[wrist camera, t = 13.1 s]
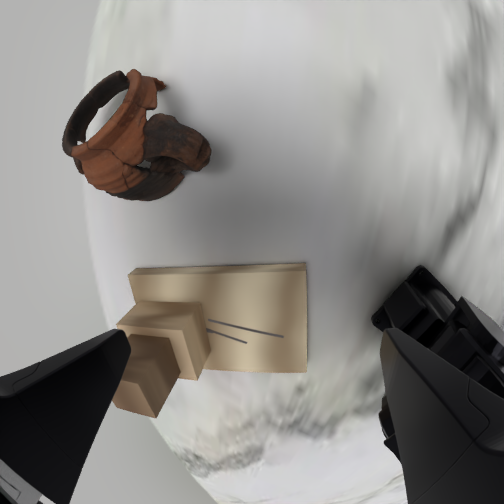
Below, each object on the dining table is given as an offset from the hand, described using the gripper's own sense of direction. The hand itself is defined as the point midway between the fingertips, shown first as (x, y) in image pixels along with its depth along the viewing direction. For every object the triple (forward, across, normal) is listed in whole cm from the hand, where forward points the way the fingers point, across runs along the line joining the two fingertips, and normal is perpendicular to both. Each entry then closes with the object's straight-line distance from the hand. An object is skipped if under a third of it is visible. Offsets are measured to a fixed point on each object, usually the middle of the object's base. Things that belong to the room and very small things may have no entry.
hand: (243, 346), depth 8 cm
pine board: (+13, +5, +7) cm, 16 cm away
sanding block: (+12, +9, +7) cm, 17 cm away
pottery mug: (+14, +8, -8) cm, 18 cm away
